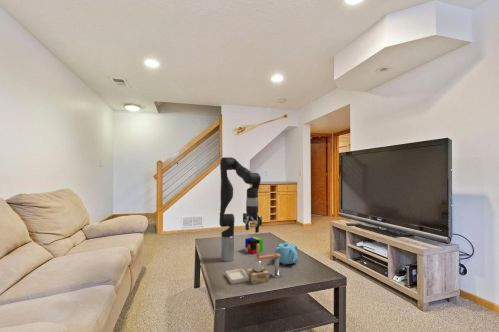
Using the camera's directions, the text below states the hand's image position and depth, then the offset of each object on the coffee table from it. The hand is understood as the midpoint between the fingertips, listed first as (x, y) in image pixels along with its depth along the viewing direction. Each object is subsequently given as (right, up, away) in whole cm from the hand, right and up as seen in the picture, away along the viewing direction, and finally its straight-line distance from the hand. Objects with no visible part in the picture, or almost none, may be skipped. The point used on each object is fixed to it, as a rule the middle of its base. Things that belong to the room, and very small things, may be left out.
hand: (252, 231), depth 142 cm
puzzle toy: (+2, -29, +45) cm, 54 cm away
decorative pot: (+25, -29, +23) cm, 44 cm away
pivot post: (+16, -28, +1) cm, 32 cm away
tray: (-9, -28, -3) cm, 29 cm away
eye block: (+3, -28, -4) cm, 28 cm away
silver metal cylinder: (+3, -28, -4) cm, 28 cm away
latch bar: (+10, -16, -1) cm, 19 cm away
